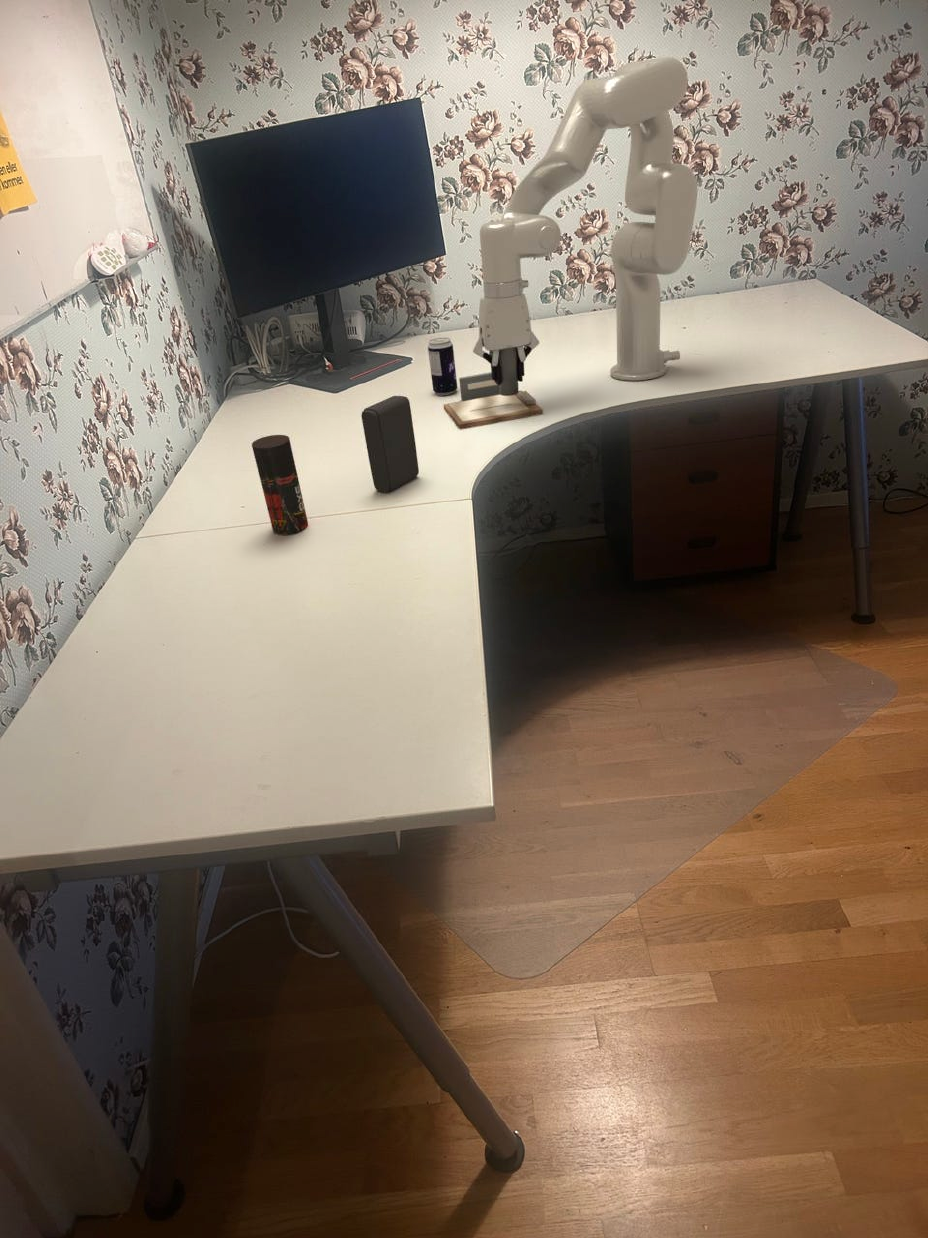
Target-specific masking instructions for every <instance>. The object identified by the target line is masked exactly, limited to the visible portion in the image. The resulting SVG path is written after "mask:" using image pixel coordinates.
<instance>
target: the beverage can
mask: <svg viewBox="0 0 928 1238" xmlns="http://www.w3.org/2000/svg"><path fill="white" fill-rule="evenodd" d="M427 351H428V353H427V354H428V361H429V369H430V376H431V382H432V391H433V392H434V393H435V394H436V395H438V396H440V395H441V396H442V397H443V395H446V396H450V394H451V395H454V394H455V392H456V390H458V381H457V370H456V369H457V368H456V361H455V353H454V344H453V343H452V341H451V338H449V337H437V338H433V339H430V340H429V341H428V346H427Z"/></svg>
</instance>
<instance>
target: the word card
mask: <svg viewBox="0 0 928 1238" xmlns="http://www.w3.org/2000/svg"><path fill="white" fill-rule="evenodd" d="M458 379H459V389H460V396H461V397H460V398H461V400H460V401H466V400H471V399H477V398H482V397H488V396H493V395H499V394H500V391H499V385H497V384H496V383H495V381H493V380H492V373H491V371H490V372H486V373H481V374H480V373H479V374H474V375H468V376H462V377H459V378H458Z"/></svg>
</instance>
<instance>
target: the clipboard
mask: <svg viewBox="0 0 928 1238" xmlns="http://www.w3.org/2000/svg"><path fill="white" fill-rule="evenodd" d="M442 406H443V410H444V411H445V412H446V413H447V415H448V414H449V415H448V416H449V417H450V419H451V418H452V419H451V420H452V421H453V423H454V424H455V425H456V426H457V428H458V429H459V430H464V429H468V428H474V427H479V426H480V427H481V426H485V425H491V424H496V423H501V422H507V421H511V420H518V419H524V418H528V417H534V416H535V417H536V416H539V415H543V414H544V409H543V408H542V407H541V406H540V405H539V404H538V403H537V400H536V398H535V397H534V396H532V395H531V394H530V393H529V392H528V391H527V390H524V391H523V390H519V393H518V394H516V395H512V396H502V395H500V394H499V395H493V396H488V397H482V398H477V399H471V400H466V401H462V400H459V401H455V402H450V403H444V404H443V405H442Z"/></svg>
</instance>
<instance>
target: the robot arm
mask: <svg viewBox="0 0 928 1238" xmlns="http://www.w3.org/2000/svg"><path fill="white" fill-rule="evenodd" d="M688 81H689V77H688V72H687V69H686V67H685V66H684V64H683V62H681V60H679V59H677V58H674V57H669V56H668V57H667V56H666V57H660V58H659V57H658V58H652V59H644V60H637V61H636V60H635V61H631V62H628V63H625V64H623V65H621V66H619V67H618V68H617V69H616V70H615V71H614V73H613V75H611V76H602V77H596V78H590V79H587V80H585V81H584V82H582V83H581V84H580V85H578V87H577V88H576V90H575V91H574V93H573V94H572V97H571V99H570V101H569V104H568V106H567V107H566V110H565V112H564V115H562V116H563V117H562V119H561V121H560V124H559V125H558V127H557V130H556V132H555V134H554V136H553V138H552V141H551V143H550V145H549V147H548V148H547V151H546V153H545V155H544V156H543V157H542V158H541V159H540V160H539V161H538V162H537V163H536V164H535V166H534V167H533V168H532V169H531V170H530V171H529V172H527V175H525V176H524V178H523V179H522V180H521V181H520V182H519V183H518V185H517V187H516V188H515V189H514V191H513V193H512V195H511V196H510V199H509V201H508V203H507V205H506V207H505V210H504V212H503V215H502V217H501V218H500V219H501V220H492V221H489V222H488V221H487V222H485V223H484V224H482V225H481V226H480V229H479V241H480V242H479V243H480V258H481V268H482V269H481V271H482V283H483V285H482V286H483V295H484V297H481V298H480V299H479V309H478V310H479V311H478V339H477V342H476V343H475V345H474V347H473V349H472V350H473V351H472V353H473V354H475V355H477V356H478V357H480V358H483V359H484V360H485V361H486V362H488V363H489V364H490V370H491V371H490V372H491V373H492V380H493V381H495V383H496V384H497V385H501V368H500V365H498V355H499V350H503V349H506V348H516V353H517V371H518V382H521V383H522V382H523V380H524V379H523V377H524V376H525V361H526V359H527V357H528V356H529V355H530V353H531V352H532V351H533V350H534V349H535V348H537V347H538V346H539V345H540V341H539V339H538V337H536V335H535V333H534V332H533V331H532V327H531V317H530V312H529V311H530V310H529V305H528V302H527V296H526V295H525V293H524V289H526V288H528V287H529V283H530V282H529V280H528V279H525V280H524V279H523V278H522V268H521V260H522V259H531V258H534V259H537V258H538V259H539V258H544V257H547V256H550V255H551V254H553V253H554V252H555V251H556V250H557V249H558V246H560V244H561V243H560V242H561V240H562V239H561V238H562V234H561V233H562V232H561V229H560V226H559V224H558V223H557V221H555V220H554V219H553V218H551V217H549V216H547V215H542V214H540V213H541V212H542V211H543V209H544V208H545V206H546V205H547V204H548V203H549V201H551V200H552V198H553V199H554V197H556V195H557V194H560V193H561V192H562V191H565V190H566V189H568V188H569V187H572V186H573V185H575V184H576V183H578V182H579V181H580V180H582V179H583V177H584V176H586V173H587V172H588V170H589V167H590V165H591V163H592V161H593V158H594V157H595V154H596V152H597V150H598V148H599V146H600V144H601V142H602V139H603V137H604V136H605V133H606V132H607V130H614V129H615V130H616V129H624V128H625V129H626V128H628V127H629V131H630V152H629V159H628V166H627V173H626V181H625V182H626V183H625V192H624V203H625V205H626V207H627V209H628V210H629V211H630V212H632V213H634V214H637V215H643V216H654V222H645V221H633V222H629V223H626V224H623V225H622V226H621V227H620V228H618V229H617V231H616V232H615V234H614V235H613V237H612V242H611V246H610V254H611V262H612V266H613V271H614V276H615V277H614V278H615V291H616V293H615V294H616V295H615V298H616V299H615V300H616V302H615V303H616V304H615V305H616V308H615V309H616V364H615V365H613V366H612V367H611V368H610V369H609V373H610V377H612V378H615V379H616V380H622V381H629V382H631V381H646V380H650V379H656V378H658V377H662V376H663V375H665V374H666V373H667V365H666V364H667V363H668V362H669V361H677V360H680V359H681V353H680V351H679V350H674V351H670V350H664V351H663V350H661V299H662V296H661V295H662V294H661V293H662V292H661V284H660V279H659V276H660V275H661V276H662V275H663V276H667V275H668V276H669V275H671V274H672V275H673V274H675V273H676V272H678V270H680V269H681V268H682V266H683V265H684V263H685V261H686V259H687V256H688V254H689V248H690V244H691V238H692V232H693V225H694V220H695V213H696V208H697V200H698V183H697V179H696V176H695V174H694V172H693V170H691V168H689V167H688V166H687V165H685V164H682V163H673V161H672V160H673V152H674V151H673V149H674V140H675V133H674V132H675V131H674V124H673V121H672V118H671V116H670V113H669V111H670V110H672V109H674V108H675V107H677V105H679V104H680V103H681V101H682V100H683V98H684V97H685V94H686V93H687V92H686V91H687V89H688ZM658 275H659V276H658ZM509 345H510V346H511V347H507V346H509ZM483 348H484V349H485V350H486V351H484V349H483ZM487 351H488V352H487Z"/></svg>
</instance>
